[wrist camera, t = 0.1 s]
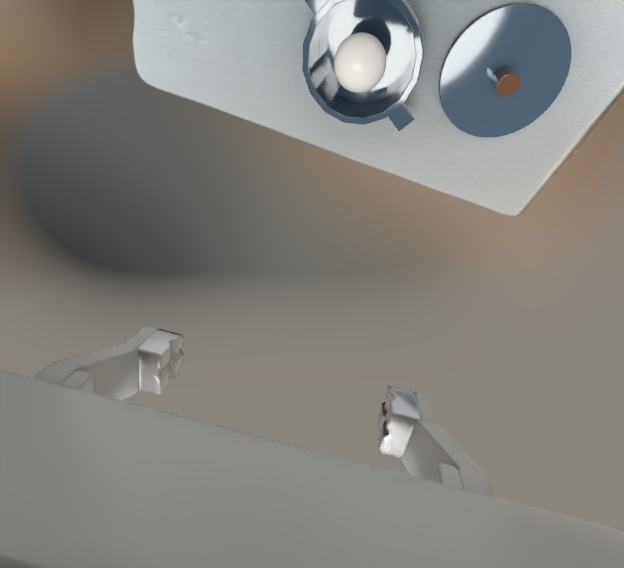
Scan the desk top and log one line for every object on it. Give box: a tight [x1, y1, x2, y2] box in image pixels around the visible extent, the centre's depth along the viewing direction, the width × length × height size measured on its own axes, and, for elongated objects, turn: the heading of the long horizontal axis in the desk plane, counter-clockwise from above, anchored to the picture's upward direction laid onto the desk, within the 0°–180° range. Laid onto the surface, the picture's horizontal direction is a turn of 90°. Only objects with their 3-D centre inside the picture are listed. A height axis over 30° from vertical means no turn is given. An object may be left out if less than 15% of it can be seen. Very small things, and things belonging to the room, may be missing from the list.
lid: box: [440, 4, 571, 137], centre depth 48 cm, size 16×16×5 cm
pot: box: [303, 0, 423, 131], centre depth 49 cm, size 15×20×7 cm
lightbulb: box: [334, 32, 386, 93], centre depth 47 cm, size 6×6×11 cm
